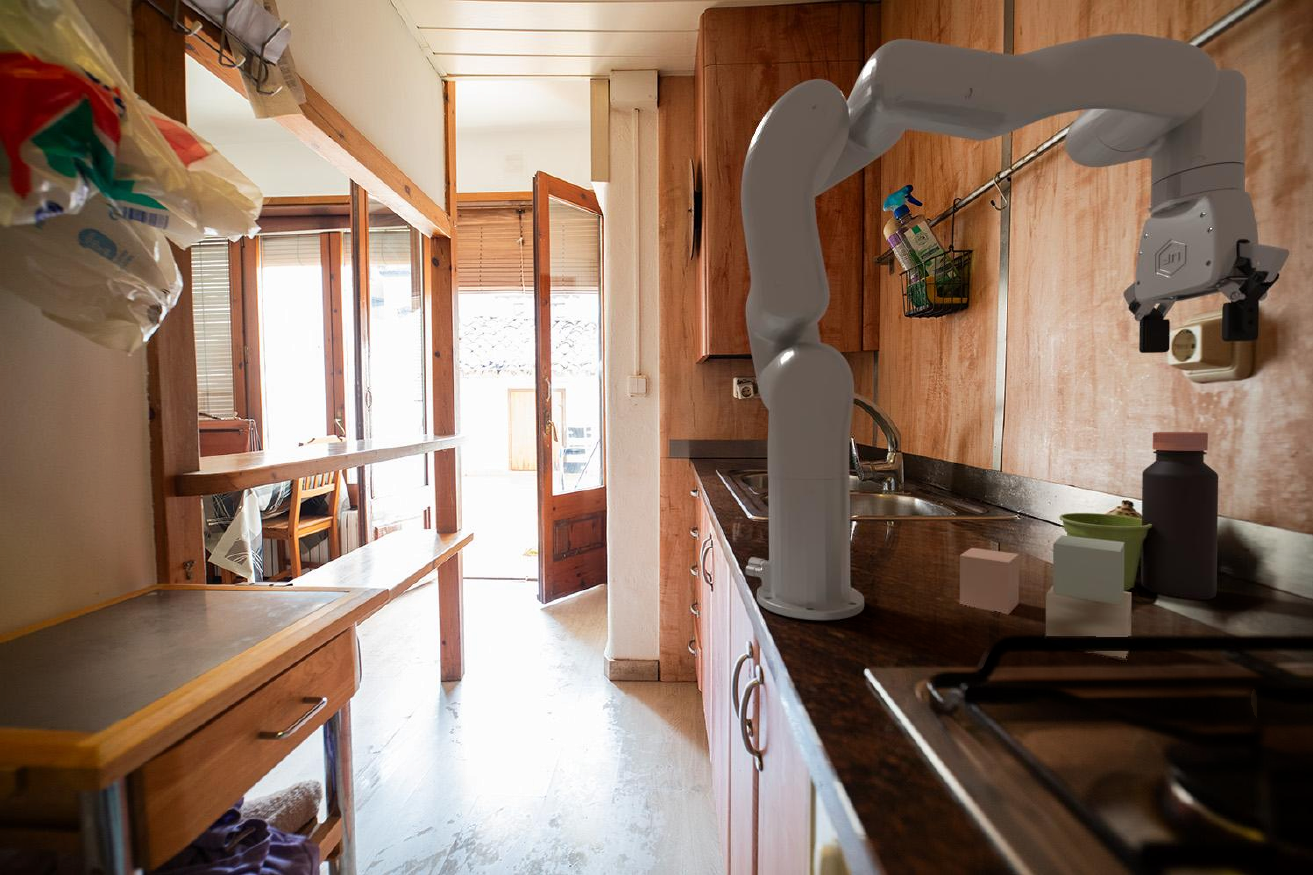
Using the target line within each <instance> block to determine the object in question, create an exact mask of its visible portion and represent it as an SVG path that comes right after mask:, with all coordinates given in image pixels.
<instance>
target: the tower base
mask: <svg viewBox="0 0 1313 875" xmlns="http://www.w3.org/2000/svg"><path fill="white" fill-rule="evenodd" d="M1046 636H1096V637H1128V636H1131V637H1132V591H1131V592H1129V591H1126V590H1125V591H1124V593H1123V596H1122V600H1121V603H1120V605H1114V604H1108V603H1103V602H1097V601H1091V600H1085V599H1079V598H1074V597H1068V596H1062V595H1056V594H1053V585H1052V586H1051V587H1050V589H1048V591H1047V592H1046V594H1045V637H1046ZM1085 653H1087V654H1090V653H1099V654H1103V655H1108V656H1118V657H1122V658H1126V656H1127V657H1128V655H1129V651H1094V652H1085ZM1127 654H1128V655H1127Z"/></svg>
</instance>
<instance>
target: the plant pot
mask: <svg viewBox="0 0 1313 875" xmlns="http://www.w3.org/2000/svg"><path fill="white" fill-rule="evenodd" d="M1058 517H1059V520H1060V521H1061V522H1062V524H1063V529H1064V531H1065V532H1066V536H1073V537H1082V538H1091V539H1100V540H1109V541H1118V542H1124V591H1125V592H1126V591H1129V590H1130V589H1133V588H1135V582H1136V578H1137V573H1138V568H1139V563H1140V558H1141V552H1142V544H1143V540H1144V539H1145V538H1146V536H1147V532H1148V528H1151V527H1152V524H1148V525H1145V526H1142V518H1138V517H1134V516H1127V515H1119V514H1109V513H1094V512H1093V513H1092V512H1072V513H1063V514H1060V515H1059V516H1058Z"/></svg>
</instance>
